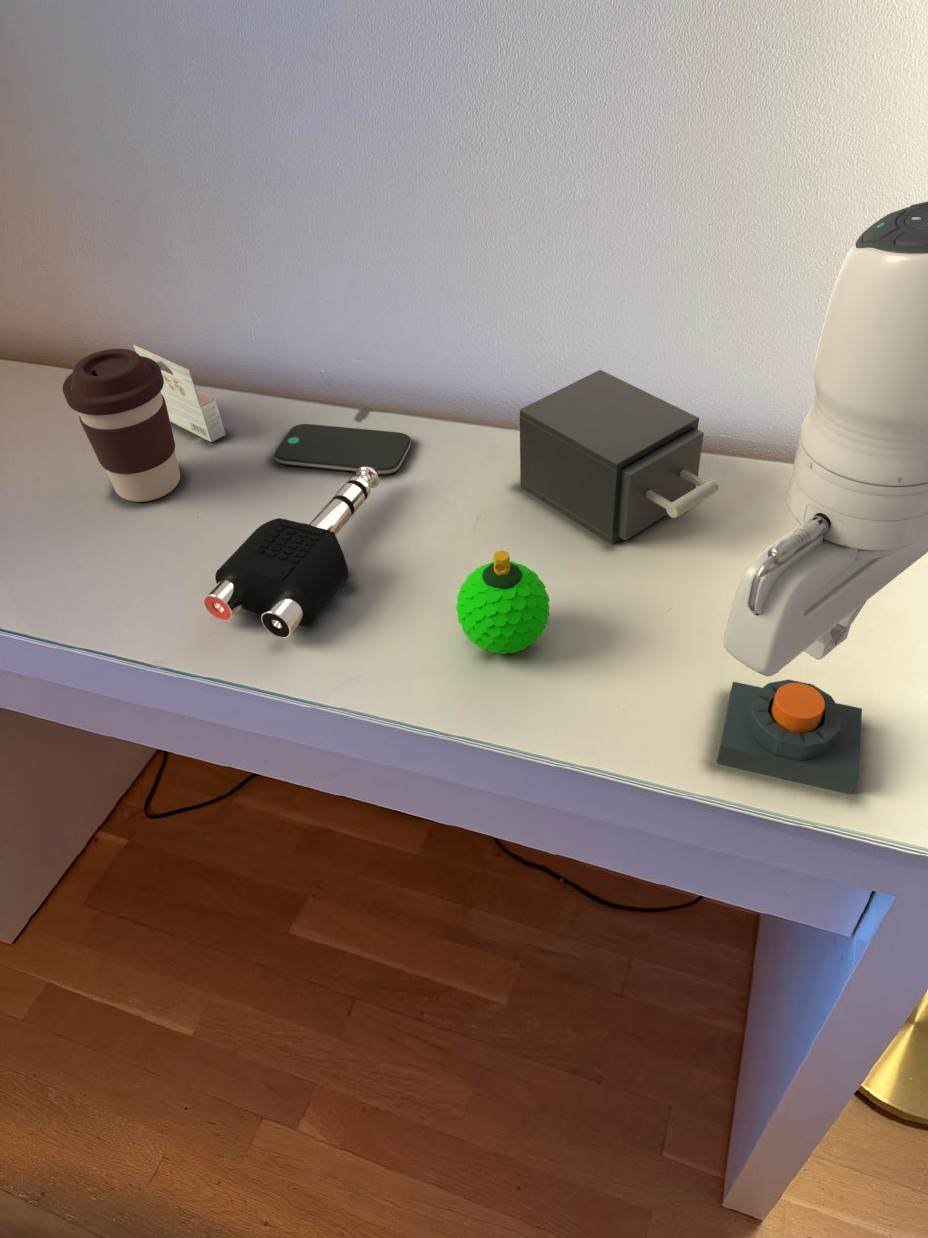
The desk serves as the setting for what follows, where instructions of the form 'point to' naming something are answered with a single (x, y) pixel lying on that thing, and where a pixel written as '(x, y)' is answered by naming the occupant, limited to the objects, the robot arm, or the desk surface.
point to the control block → (791, 740)
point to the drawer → (662, 484)
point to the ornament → (503, 605)
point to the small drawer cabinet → (592, 445)
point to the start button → (798, 707)
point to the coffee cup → (126, 421)
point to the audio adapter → (290, 564)
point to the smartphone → (343, 448)
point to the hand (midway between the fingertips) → (822, 645)
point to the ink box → (187, 401)
